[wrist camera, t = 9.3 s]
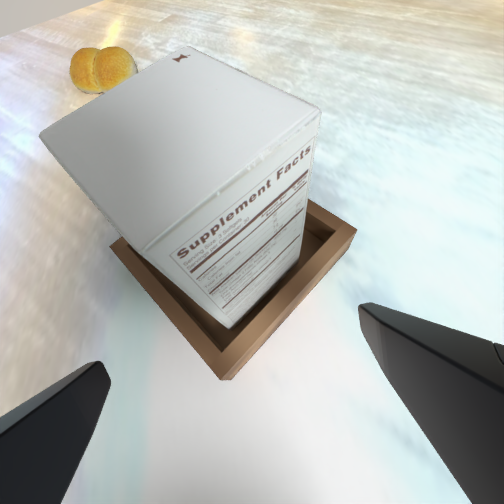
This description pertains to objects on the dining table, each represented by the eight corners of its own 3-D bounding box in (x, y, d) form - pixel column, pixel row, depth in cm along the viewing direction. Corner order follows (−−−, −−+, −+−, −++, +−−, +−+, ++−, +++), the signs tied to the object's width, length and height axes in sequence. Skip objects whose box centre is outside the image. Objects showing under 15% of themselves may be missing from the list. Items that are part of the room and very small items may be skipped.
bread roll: (131, 94, 35) (114, 61, 31) (73, 99, 36) (50, 68, 32) (146, 61, 38) (132, 29, 35) (93, 67, 40) (74, 36, 36)
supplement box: (170, 268, 20) (27, 129, 9) (238, 211, 22) (189, 36, 11) (230, 336, 17) (129, 257, 6) (303, 264, 19) (329, 99, 8)
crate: (230, 380, 17) (220, 380, 14) (130, 262, 22) (109, 246, 19) (347, 249, 20) (357, 229, 17) (236, 174, 25) (230, 149, 22)
